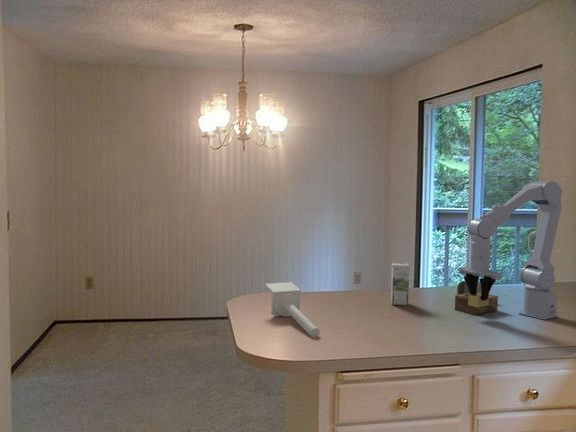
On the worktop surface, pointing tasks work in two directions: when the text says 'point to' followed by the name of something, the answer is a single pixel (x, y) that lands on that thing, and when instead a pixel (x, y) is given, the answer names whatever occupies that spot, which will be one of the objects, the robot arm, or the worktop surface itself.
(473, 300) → the yellow rectangular block
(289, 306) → the white block with rod
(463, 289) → the ceramic mug
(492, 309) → the walnut box
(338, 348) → the worktop surface
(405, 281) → the syrup box
